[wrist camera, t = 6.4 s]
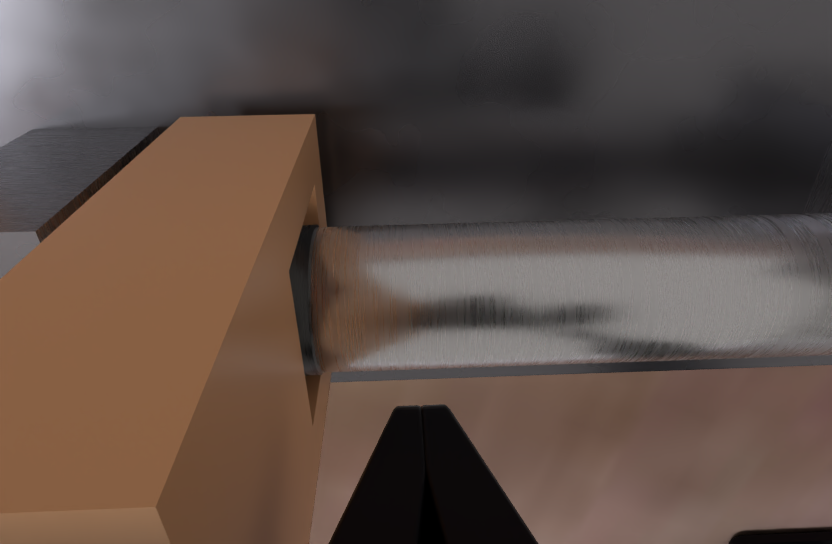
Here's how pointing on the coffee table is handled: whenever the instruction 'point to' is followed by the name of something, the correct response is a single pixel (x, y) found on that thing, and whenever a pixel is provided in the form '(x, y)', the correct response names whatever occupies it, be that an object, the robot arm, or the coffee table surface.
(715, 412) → the coffee table surface
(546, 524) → the coffee table surface
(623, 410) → the coffee table surface
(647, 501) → the coffee table surface
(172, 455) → the tan rectangular block
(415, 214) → the pipe stand
